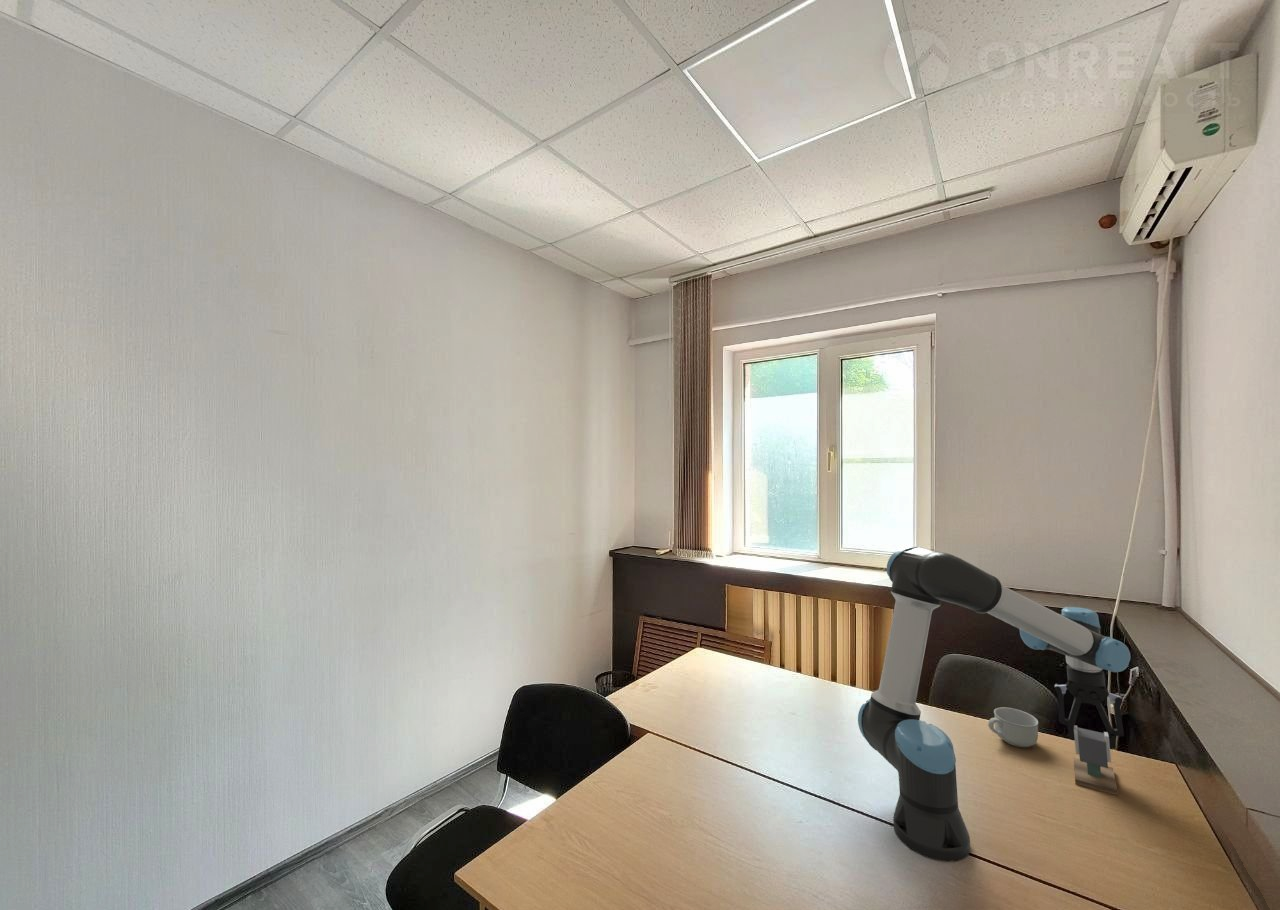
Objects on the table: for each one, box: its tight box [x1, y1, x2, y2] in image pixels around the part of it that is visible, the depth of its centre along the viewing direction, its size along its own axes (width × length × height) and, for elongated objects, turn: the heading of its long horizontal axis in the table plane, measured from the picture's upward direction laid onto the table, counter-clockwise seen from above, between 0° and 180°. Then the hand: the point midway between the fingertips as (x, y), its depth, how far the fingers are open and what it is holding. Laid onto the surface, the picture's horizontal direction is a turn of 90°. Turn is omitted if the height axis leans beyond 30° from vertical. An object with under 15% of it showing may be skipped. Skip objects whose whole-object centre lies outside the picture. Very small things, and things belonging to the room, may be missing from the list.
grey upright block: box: [1077, 726, 1109, 768], centre depth 130 cm, size 5×5×7 cm
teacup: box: [987, 706, 1039, 748], centre depth 148 cm, size 14×11×8 cm
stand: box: [1072, 757, 1119, 796], centre depth 130 cm, size 12×8×8 cm, turn 140°
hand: (1093, 755), depth 130 cm, fingers closed on grey upright block, 5 cm apart
